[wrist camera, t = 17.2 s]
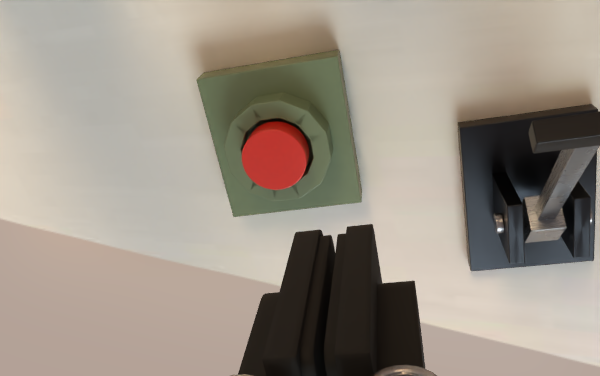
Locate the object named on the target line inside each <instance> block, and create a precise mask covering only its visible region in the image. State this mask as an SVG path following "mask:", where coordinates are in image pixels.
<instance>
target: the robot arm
mask: <svg viewBox="0 0 600 376" xmlns="http://www.w3.org/2000/svg"><path fill="white" fill-rule="evenodd" d="M232 376H437V375H435V374H434V373H433V372H431V371H429V370H426V369H425V363H424V353H423V345H422V336H421V328H420V319H419V311H418V303H417V296H416V288H415V281H406V282H394V283H383V284H382V279H381V273H380V266H379V260H378V253H377V247H376V241H375V234H374V229H373V225H372V224H369V225H360V226H351V227H347V230H346V234H338V237H337V245H336V253H335V250H334V244H333V240H332V236H331V235H328V236H323V234H322V231H321V230H313V231H304V232H296V233H295V236H294V239H293V243H292V247H291V251H290V255H289V258H288V262H287V266H286V270H285V274H284V278H283V281H282V285H281V289H280V292H278V293H268V294H264V295H263V297H262V298H261V301H260V304H259V308H258V312H257V314H256V318H255V321H254V324H253V327H252V331H251V334H250V337H249V341H248V344H247V347H246V350H245V353H244V357H243V360H242V363H241V367H240V370H239V373H238V375H232Z"/></svg>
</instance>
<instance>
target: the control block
mask: <svg viewBox="0 0 600 376" xmlns="http://www.w3.org/2000/svg"><path fill="white" fill-rule="evenodd" d="M197 83H198V87H199V91H200V94H201V98H202V102H203V106H204V109H205V113H206V117H207V120H208V124H209V128H210V131H211V135H212V139H213V142H214V146H215V150H216V154H217V157H218V161H219V165H220V168H221V172H222V176H223V179H224V183H225V187H226V191H227V194H228V198H229V202H230V205H231V209H232V213H233V216H234V217H237V216H246V215H255V214H263V213H272V212H281V211H289V210H298V209H307V208H315V207H324V206H333V205H342V204H350V203H359V202H361V199H362V188H361V181H360V175H359V169H358V163H357V157H356V150H355V144H354V138H353V132H352V126H351V119H350V113H349V107H348V101H347V95H346V88H345V82H344V76H343V70H342V64H341V57H340V51H339V50H335V51H329V52H323V53H317V54H312V55H306V56H300V57H294V58H288V59H282V60H276V61H270V62H264V63H258V64H252V65H246V66H240V67H235V68H229V69H223V70H217V71H211V72H205V73H203V74H202V75H201V76H200V77H199V78H198V79H197ZM272 121H280V122H285V123H288V124H290V125H292V126H294V127H295V128H297V129H298V130H299V131H300V132H301V133H302V134H303V136H304V137H305V139H306V141H307V143H308V147H309V159H308V162H307V166H306V169H305V172H304V174H303V176H302V178H301V179H300V180H299V181H298V182H297V183H296V184H294V185H293V186H291V187H289V188H286V189H281V190H272V189H267V188H264V187H261V186H259V185H258V184H256V183H255V182H253V181H252V180H251V179H250V177H249V176H248V175H247V173H246V172H245V170H244V167H243V164H242V151H243V147H244V145H245V143H246V141H247V140H248V138H249V136H250V135H251V133H252V132H253V131H254V130H255V129H256V128H257V127H258V126H260V125H262V124H264V123H267V122H272Z"/></svg>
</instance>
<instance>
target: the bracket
mask: <svg viewBox="0 0 600 376" xmlns="http://www.w3.org/2000/svg"><path fill="white" fill-rule="evenodd" d="M594 112H598V109H597V108H596V107H595V106H593V105H592V104H590V105H583V106H575V107H568V108H561V109H554V110H546V111H539V112H532V113H525V114H517V115H510V116H503V117H496V118H488V119H481V120H474V121H467V122H459V123H458V137H459V149H460V162H461V174H462V187H463V199H464V212H465V224H466V237H467V249H468V262H469V266H470V270H471V271H480V270H491V269H503V268H514V267H526V266H537V265H548V264H560V263H571V262H582V261H593V260H594V236H595V200H596V164H597V151H596V152H595V154H594V156H593V157H592V159H591V161H590V162H589V164H588V166H587V167H586V169H585V170H584V172H583V174H582V175H581V177H580V179H579V180H578V182H577V184H576V185H575V187H574V188H573V190H572V192H571V193H570V195H569V197H568V198H567V200H566V202H565V203H564V205H563V207H562V208H563V213H564V217H565V221H566V226H567V228H566V229H565V231H564V232H563V234H562V235H561V236H560V238H559V239H558V240H551V241H540V242H530V243H525V241H524V216H523V204H522V201H523V199H524V197H529V196H538V195H540V194H541V192H542V190H543V188H544V186H545V184H546V182H547V180H548V177H549V175H550V173H551V171H552V169H553V167H554V165H555V163H556V161H557V158H558V156H559V154H560V152H561V150H558V151H550V152H542V153H533V151H532V147H531V142H530V138H529V129H530V126H531V123H532V121H535V120H542V119H549V118H557V117H564V116H572V115H579V114H586V113H594Z"/></svg>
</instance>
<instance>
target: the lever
mask: <svg viewBox="0 0 600 376" xmlns="http://www.w3.org/2000/svg"><path fill="white" fill-rule="evenodd" d="M529 138H530V142H531V147H532V151H533V153H542V152H550V151H558V150H561V152H560V154H559V156H558V158H557V161H556V163H555V165H554V167H553V169H552V171H551V173H550V175H549V177H548V180H547V182H546V184H545V186H544V188H543V190H542V192H541V194H540V195H538V196H529V197H524V199H523V201H522V204H523V216H524V241H525V243H530V242H540V241H551V240H558V239H559V238H560V236H561V235H562V234H563V232H564V231H565V229H566V228H567V226H566V221H565V217H564V213H563V208H562V207H563V205H564V203H565V202H566V200H567V198H568V197H569V195H570V193H571V192H572V190H573V188H574V187H575V185H576V184H577V182H578V180H579V179H580V177H581V175H582V174H583V172H584V170H585V169H586V167H587V166H588V164H589V162H590V161H591V159H592V157H593V156H594V154H595V152H596V151H597V149H598V147H599V146H600V112H594V113H586V114H579V115H572V116H564V117H557V118H549V119H542V120H535V121H532V123H531V126H530V129H529Z"/></svg>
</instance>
